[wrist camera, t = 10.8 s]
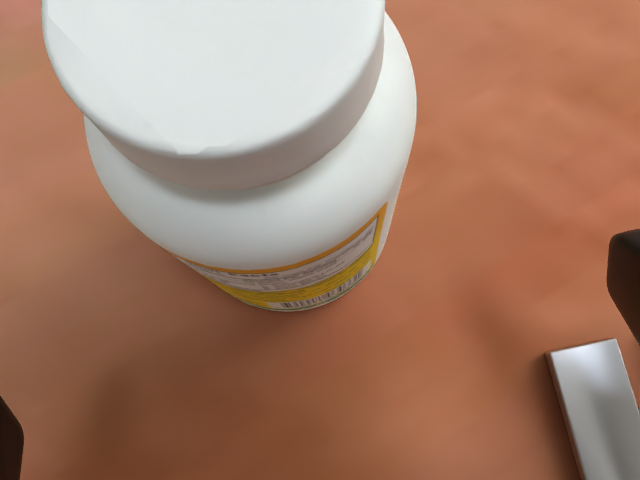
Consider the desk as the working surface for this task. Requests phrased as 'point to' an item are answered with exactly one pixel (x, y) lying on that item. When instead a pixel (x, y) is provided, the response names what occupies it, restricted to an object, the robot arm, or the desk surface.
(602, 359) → the knife
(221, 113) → the supplement bottle
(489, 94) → the desk surface
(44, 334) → the desk surface
